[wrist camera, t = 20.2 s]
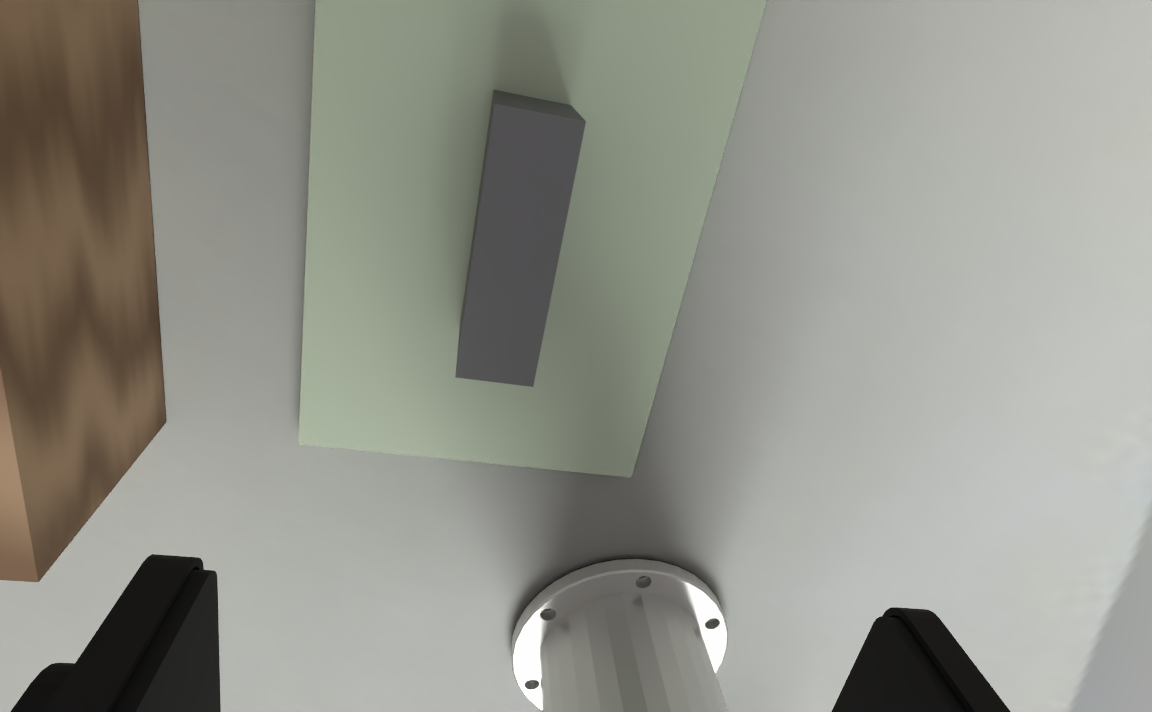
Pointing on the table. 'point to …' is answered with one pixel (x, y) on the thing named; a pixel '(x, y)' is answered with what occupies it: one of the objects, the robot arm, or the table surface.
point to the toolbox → (72, 271)
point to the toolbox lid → (507, 219)
